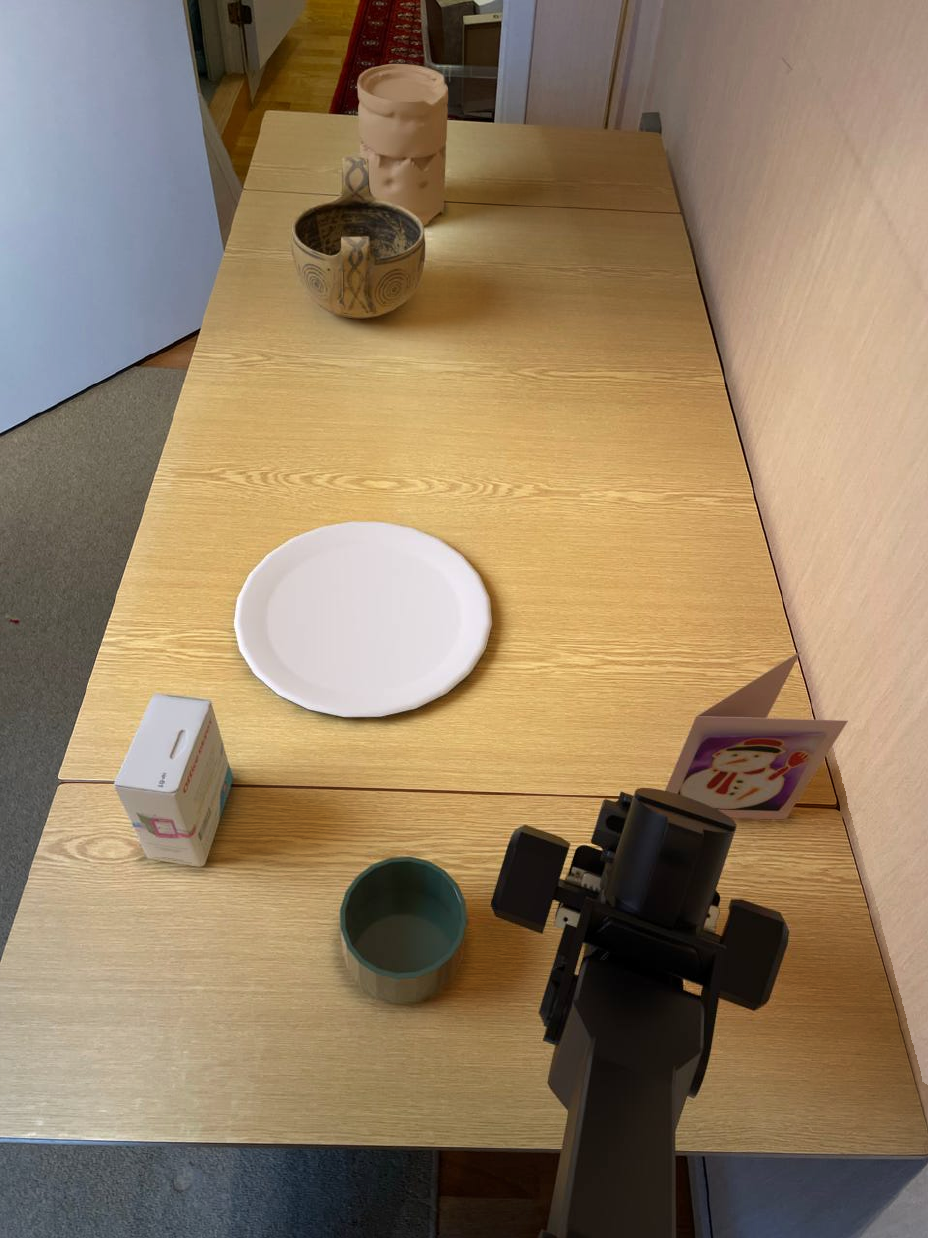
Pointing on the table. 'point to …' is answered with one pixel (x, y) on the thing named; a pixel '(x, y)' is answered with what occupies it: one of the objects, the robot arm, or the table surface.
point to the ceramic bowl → (358, 249)
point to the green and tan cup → (403, 930)
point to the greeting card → (752, 752)
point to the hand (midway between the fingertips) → (638, 877)
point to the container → (405, 136)
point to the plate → (363, 619)
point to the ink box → (176, 779)
